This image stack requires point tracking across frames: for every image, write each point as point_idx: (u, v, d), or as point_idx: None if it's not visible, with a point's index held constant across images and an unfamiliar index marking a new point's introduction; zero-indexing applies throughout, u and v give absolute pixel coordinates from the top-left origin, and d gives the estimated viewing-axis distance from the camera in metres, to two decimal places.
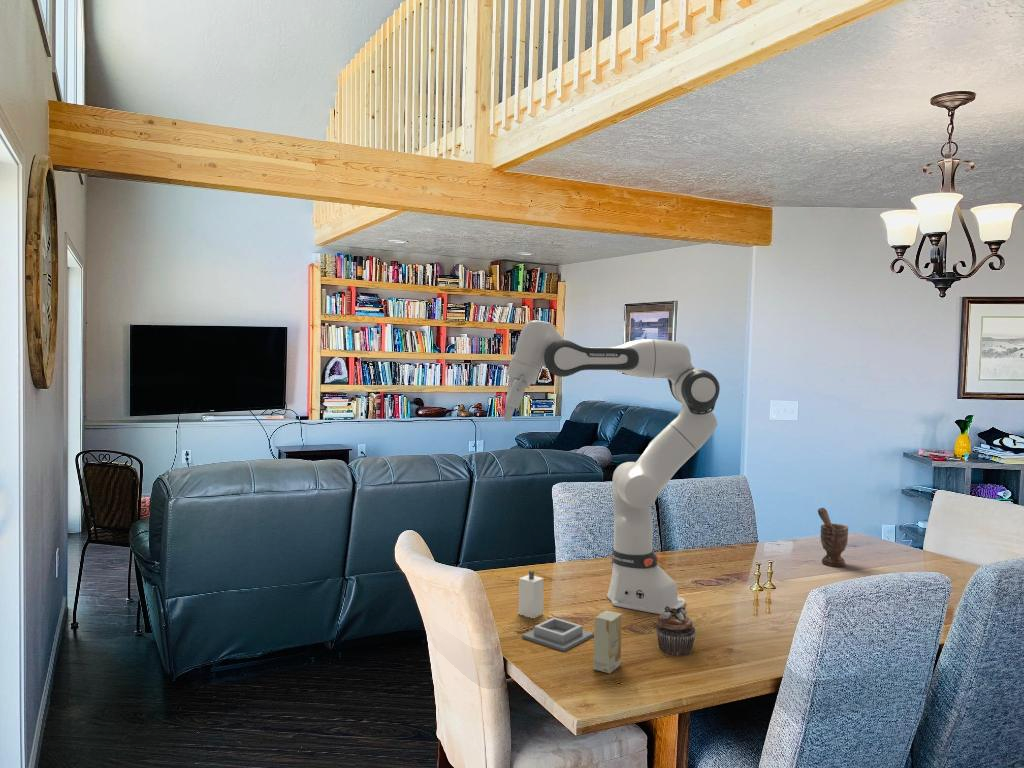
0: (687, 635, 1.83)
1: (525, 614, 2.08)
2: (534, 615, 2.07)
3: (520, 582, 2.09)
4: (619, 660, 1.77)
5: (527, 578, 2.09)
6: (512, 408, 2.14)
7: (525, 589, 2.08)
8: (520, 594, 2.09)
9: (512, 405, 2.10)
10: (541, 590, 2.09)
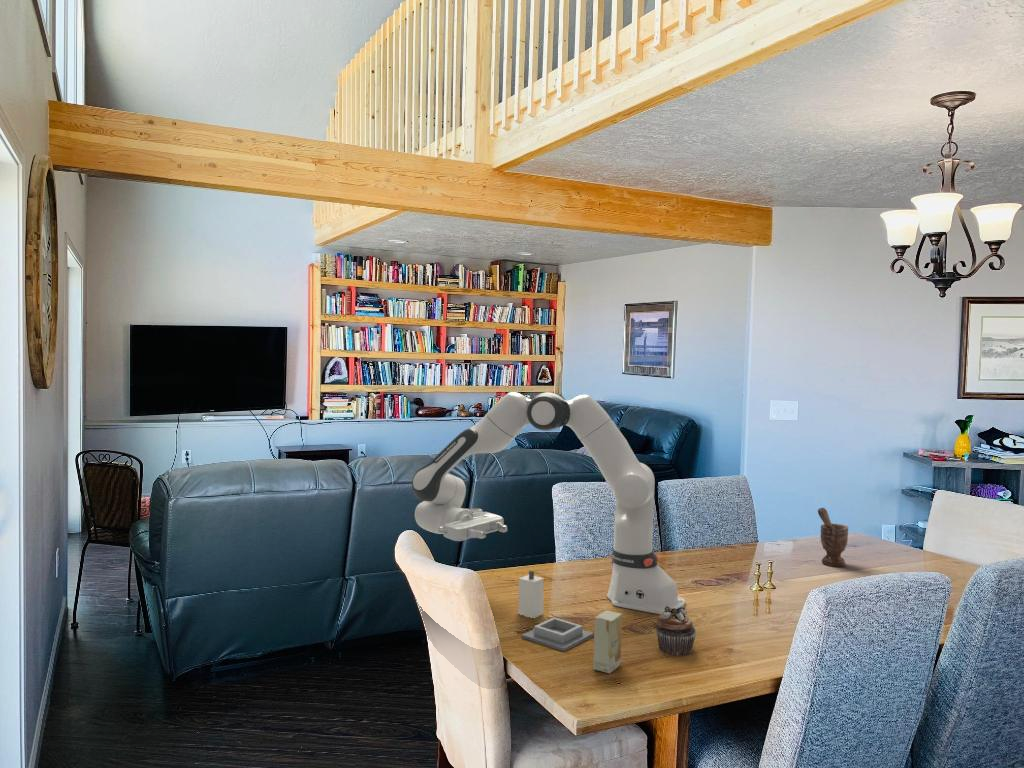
0: (687, 635, 1.83)
1: (525, 614, 2.08)
2: (534, 615, 2.07)
3: (520, 582, 2.09)
4: (619, 660, 1.77)
5: (527, 578, 2.09)
6: (469, 532, 2.14)
7: (525, 589, 2.08)
8: (520, 594, 2.09)
9: (458, 535, 2.12)
10: (541, 590, 2.09)
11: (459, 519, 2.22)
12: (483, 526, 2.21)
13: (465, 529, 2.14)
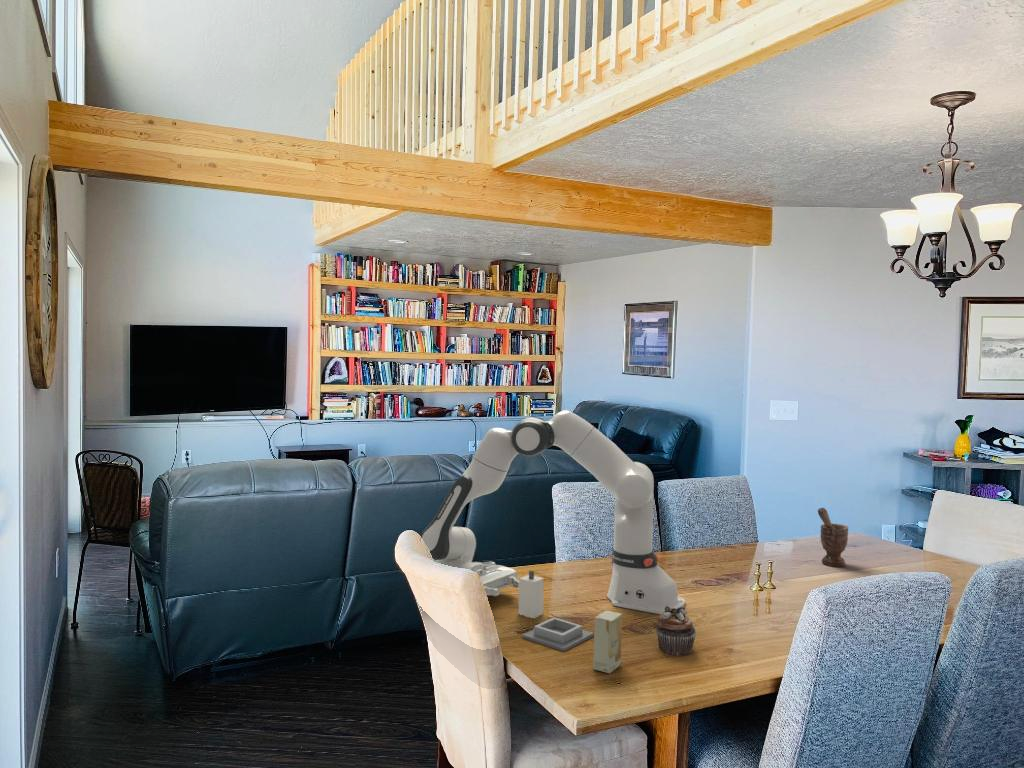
0: (687, 635, 1.83)
1: (525, 614, 2.08)
2: (534, 615, 2.07)
3: (520, 582, 2.09)
4: (619, 660, 1.77)
5: (527, 578, 2.09)
6: None
7: (525, 589, 2.08)
8: (520, 594, 2.09)
9: None
10: (541, 590, 2.09)
11: None
12: (497, 581, 2.19)
13: None
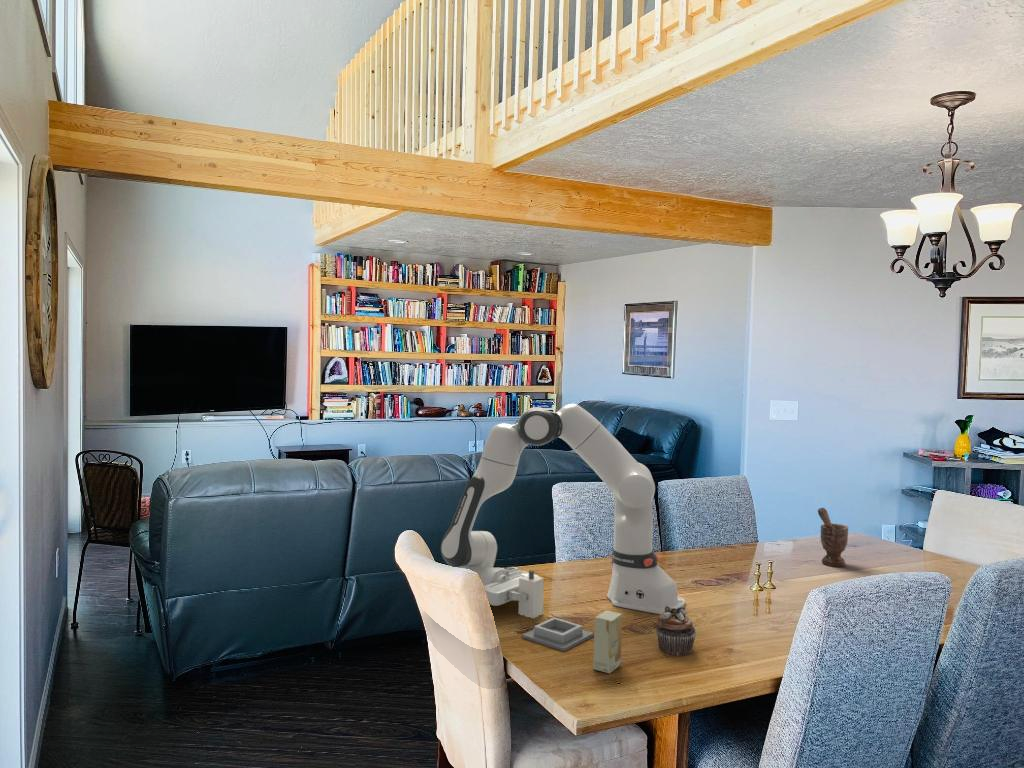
0: (687, 635, 1.83)
1: (525, 614, 2.08)
2: (534, 615, 2.07)
3: (520, 582, 2.09)
4: (619, 660, 1.77)
5: (527, 578, 2.09)
6: (511, 595, 2.08)
7: (525, 589, 2.08)
8: None
9: (496, 600, 2.05)
10: (541, 590, 2.09)
11: (495, 580, 2.14)
12: None
13: (503, 593, 2.06)
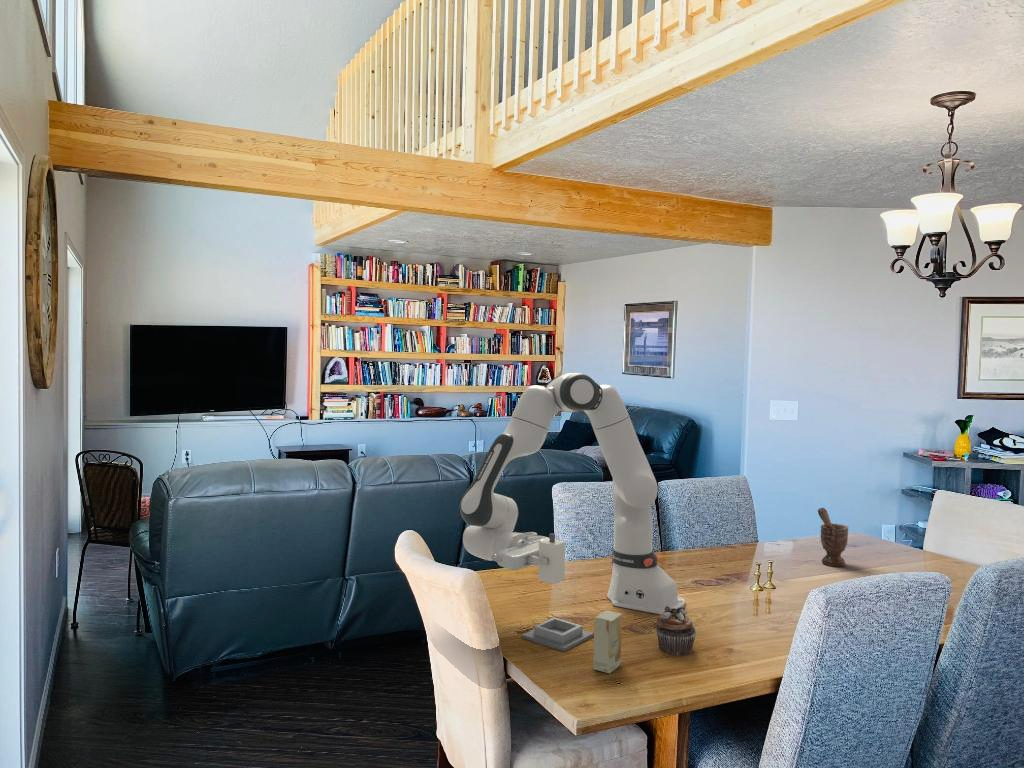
0: (687, 635, 1.83)
1: (545, 580, 1.95)
2: (555, 580, 1.94)
3: (540, 546, 1.96)
4: (619, 660, 1.77)
5: (547, 541, 1.96)
6: (531, 559, 1.95)
7: (546, 553, 1.95)
8: None
9: (515, 564, 1.92)
10: (562, 554, 1.96)
11: (514, 545, 2.02)
12: None
13: (522, 557, 1.94)
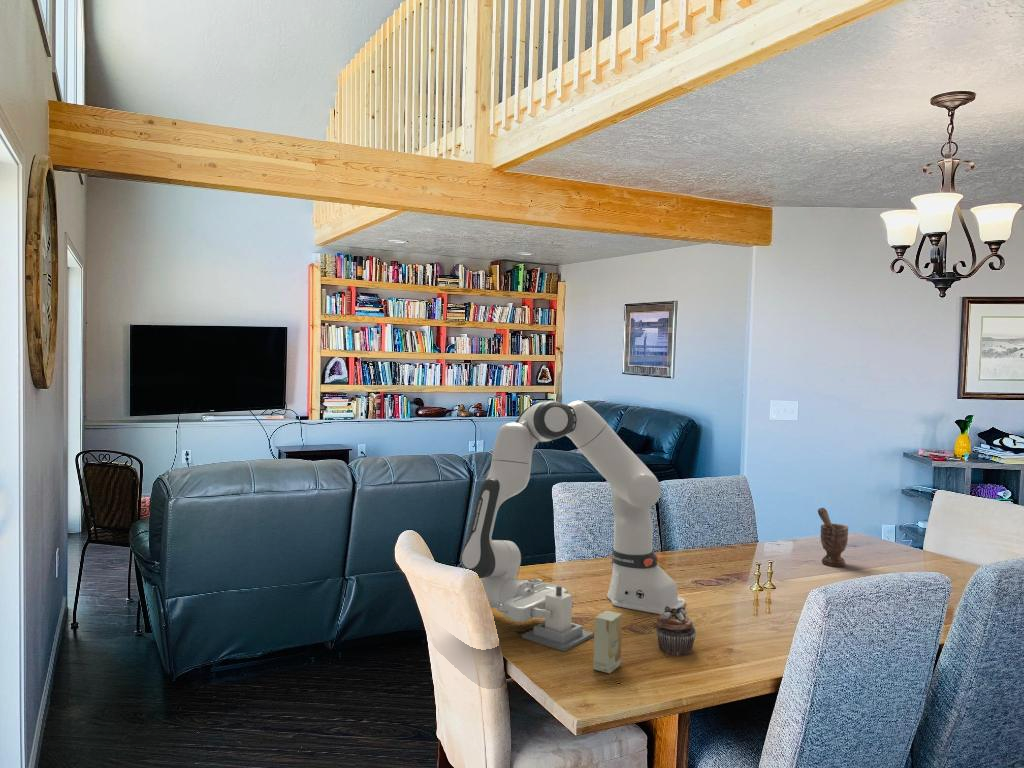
0: (687, 635, 1.83)
1: None
2: None
3: (547, 599, 1.93)
4: (619, 660, 1.77)
5: (554, 595, 1.93)
6: (534, 612, 1.91)
7: (553, 606, 1.92)
8: None
9: (521, 616, 1.89)
10: (569, 608, 1.93)
11: (519, 594, 1.98)
12: None
13: (529, 608, 1.90)
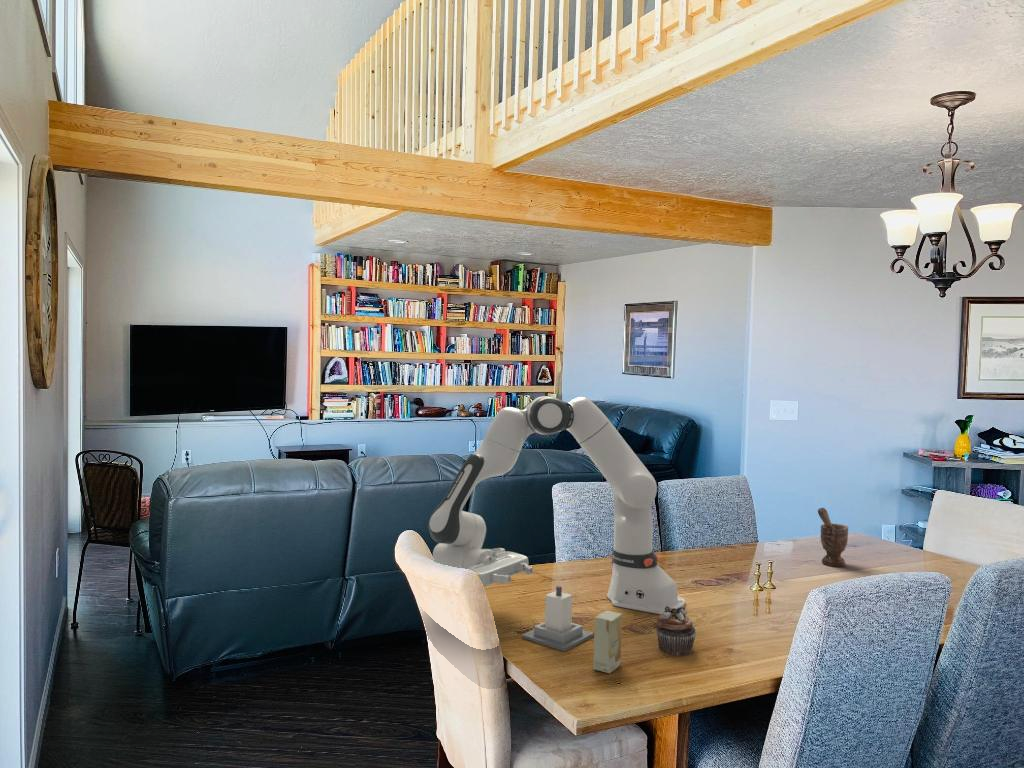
0: (687, 635, 1.83)
1: None
2: None
3: (547, 599, 1.93)
4: (619, 660, 1.77)
5: (554, 595, 1.93)
6: (493, 577, 1.99)
7: (553, 606, 1.92)
8: (546, 613, 1.93)
9: (481, 581, 1.97)
10: (569, 608, 1.93)
11: (481, 562, 2.07)
12: (507, 568, 2.06)
13: (488, 574, 1.99)
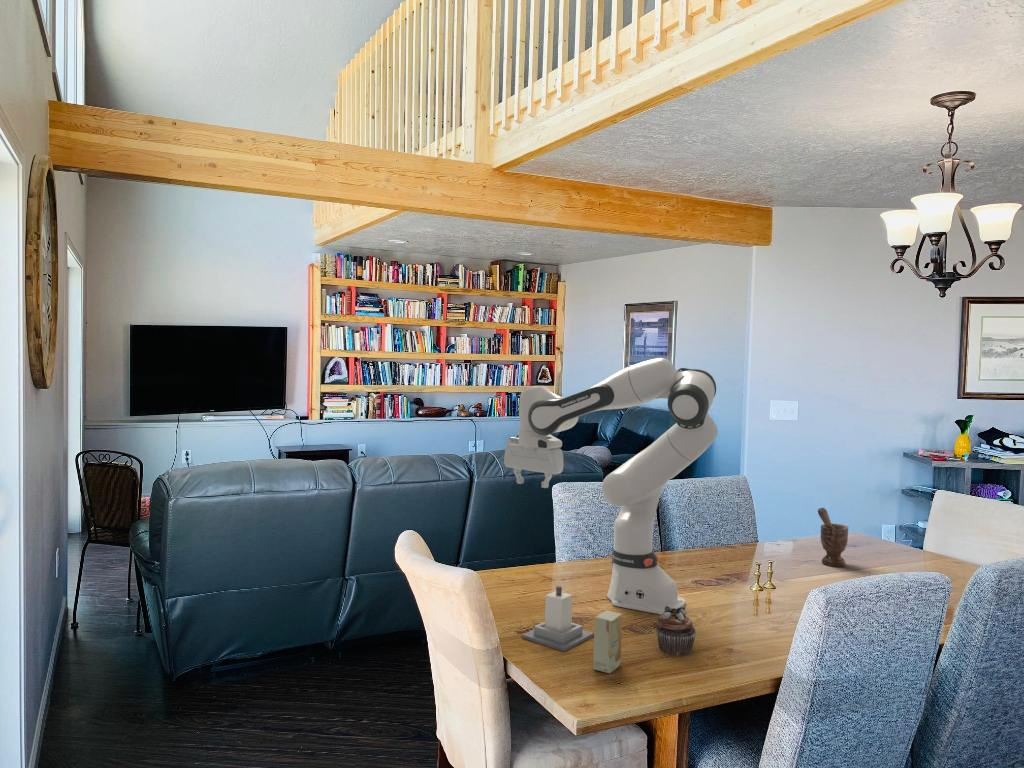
0: (687, 635, 1.83)
1: None
2: None
3: (547, 599, 1.93)
4: (619, 660, 1.77)
5: (554, 595, 1.93)
6: None
7: (553, 606, 1.92)
8: (546, 613, 1.93)
9: None
10: (569, 608, 1.93)
11: (522, 447, 2.30)
12: None
13: (511, 467, 2.34)
